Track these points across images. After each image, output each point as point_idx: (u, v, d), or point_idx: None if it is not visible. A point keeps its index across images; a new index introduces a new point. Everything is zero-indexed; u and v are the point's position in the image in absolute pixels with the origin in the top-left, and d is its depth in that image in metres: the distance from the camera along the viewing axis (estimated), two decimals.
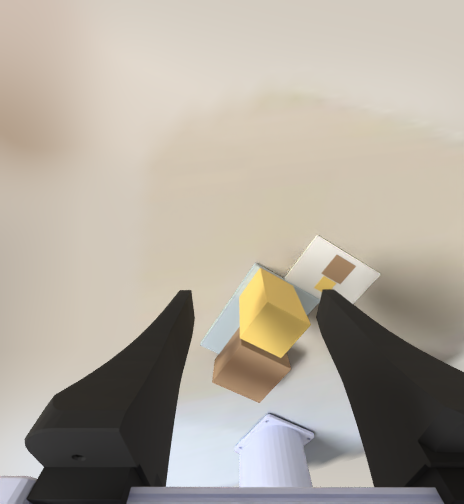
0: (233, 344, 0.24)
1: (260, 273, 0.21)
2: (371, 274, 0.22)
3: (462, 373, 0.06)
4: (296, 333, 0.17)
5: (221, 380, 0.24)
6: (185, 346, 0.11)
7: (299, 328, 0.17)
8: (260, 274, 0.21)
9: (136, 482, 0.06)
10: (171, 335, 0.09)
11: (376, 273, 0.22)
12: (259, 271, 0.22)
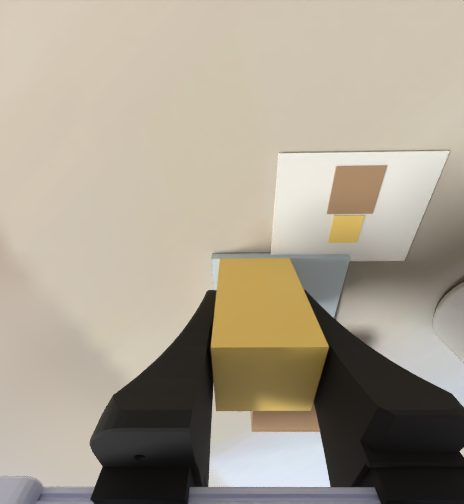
0: None
1: None
2: (427, 164, 0.11)
3: (409, 373, 0.06)
4: (310, 370, 0.08)
5: (262, 426, 0.16)
6: None
7: (309, 361, 0.08)
8: None
9: (192, 483, 0.06)
10: (209, 335, 0.09)
11: (438, 155, 0.11)
12: None
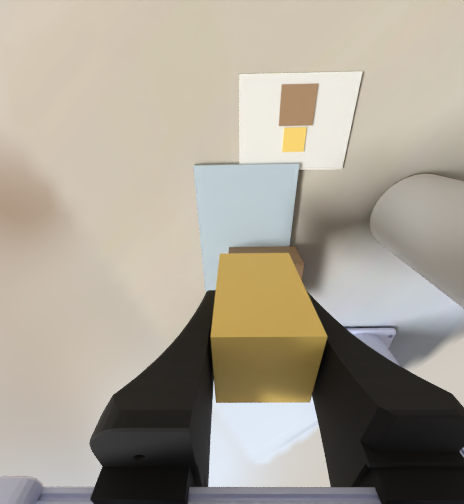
0: None
1: None
2: (348, 82, 0.15)
3: (409, 373, 0.06)
4: (309, 360, 0.08)
5: None
6: None
7: (308, 351, 0.08)
8: (218, 267, 0.12)
9: (191, 483, 0.06)
10: (209, 335, 0.09)
11: (355, 75, 0.14)
12: (219, 261, 0.12)
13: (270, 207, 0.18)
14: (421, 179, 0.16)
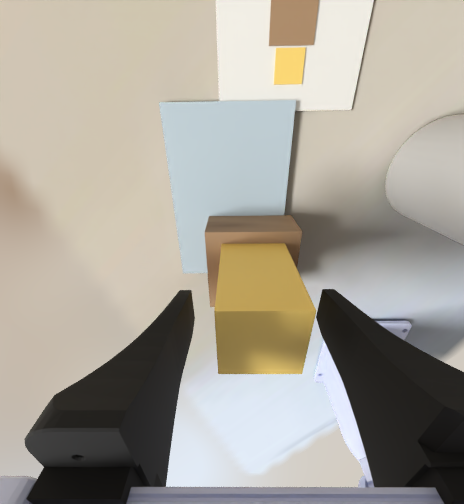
0: None
1: (220, 254, 0.13)
2: None
3: (462, 373, 0.06)
4: (300, 333, 0.09)
5: None
6: (185, 346, 0.11)
7: (299, 324, 0.09)
8: (220, 255, 0.13)
9: (136, 483, 0.06)
10: (171, 335, 0.09)
11: None
12: (221, 250, 0.14)
13: (259, 162, 0.15)
14: (456, 117, 0.12)
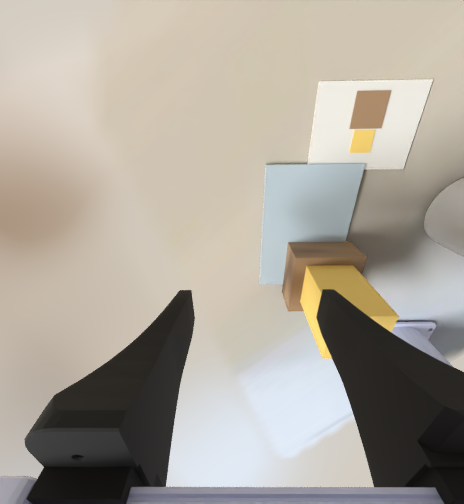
0: (290, 264, 0.21)
1: (310, 274, 0.18)
2: (418, 89, 0.16)
3: (462, 373, 0.06)
4: None
5: (296, 305, 0.21)
6: (185, 346, 0.11)
7: (386, 325, 0.14)
8: (310, 275, 0.18)
9: (136, 483, 0.06)
10: (171, 335, 0.09)
11: (425, 82, 0.16)
12: (308, 271, 0.19)
13: (332, 204, 0.20)
14: None
